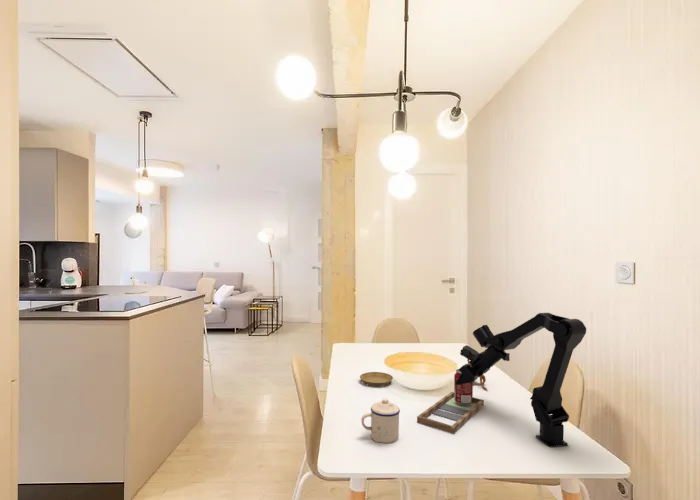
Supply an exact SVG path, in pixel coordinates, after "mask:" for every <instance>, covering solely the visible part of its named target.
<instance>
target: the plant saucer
mask: <svg viewBox="0 0 700 500" xmlns="http://www.w3.org/2000/svg"><path fill="white" fill-rule="evenodd" d="M359 379H360V380H361V381H362V382H363V384H365V385H367V386H370V387H380V388H381V387H385V386H387V385H389V384H390V383H391V382H392V380H394V377H393V375H391V374H389V373H385V372H380V371H369V372H368V371H367V372H365V373H362V374H361V375H360V376H359Z"/></svg>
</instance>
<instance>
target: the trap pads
mask: <svg viewBox="0 0 700 500" xmlns="http://www.w3.org/2000/svg"><path fill="white" fill-rule="evenodd" d="M467 412H468V410H464V409H460V408H456V407H453V406H449V405H445V404H444V405H443V406H441V407H440V408H439V409H437V410H436V411H435V412H433V413H432V414H431V415H435V416H438V417H442V418H445V419H448V420H451V421H455V422H457V421H458V420H459V419H460V418H461V417H462V416H463V415H465V414H466V413H467Z"/></svg>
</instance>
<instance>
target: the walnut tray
mask: <svg viewBox="0 0 700 500" xmlns="http://www.w3.org/2000/svg"><path fill="white" fill-rule="evenodd" d="M452 398H454V391H450V392H449V393H448V394H447V395H445V396H444V397H443V398H441V399H439V400H438V401H437V402H435V403H434V404H432V405H431V406H429V407H427V409H425V410H424V411H423V412H421V413H420V414H419V415H417V416H416V423H419V424H421V425H424V426H427V427H431V428H433V429H437V430H440V431H443V432H446V433H449V434H453V435H454V434H456V433H457V432H458V431H459V430H460V429H461V428H462V427H463V426H464V425H465V424H466V423H467V422H468V421H469V420H470V419H471V418H472V417H474V415H476V414H477V412H478V411H479V410H481V409H482V408H483V407H484V406H485V400H484V399H482V398H478V397H474V396H473V402H472V403H476V405H475V406H473V407H472V408H471V409H470V410H469V411H468V412H467V413H466V414H465V415H461V416H462V417H461V418H460V419H459V420H458V421H455V423H453V424H452V425H451V424H447V423H444V422H441V421H438V420H434V419H431V418H430V416H431V415H433V414H432V413H433V412H435V411H436V410H437V409H439V408H440V407H441V406H443V405H444V404H445V403H447V402H448V401H449V400H451V399H452ZM439 410H440V409H439Z"/></svg>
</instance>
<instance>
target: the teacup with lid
mask: <svg viewBox="0 0 700 500" xmlns="http://www.w3.org/2000/svg"><path fill="white" fill-rule="evenodd" d="M370 411H371V413H370V412H369V413H365V414H363V415H362V417H361V419H360V420H361V425H362V427H363V429H364V430H366V431H370V436H371V438H372V439H373V440H374V441H376V442H379V443H383V444H390V443H394V442H396V441H398V439H399V437H400V436H399V435H400V434H399V431H400V430H399V429H400V426H399V425H400V412H401V409H400V407H399V406H398V405H397V404H395V403H393V402H390V401H389V399H388V398H382V399H381V401H378V402H375V403H373V404H372V405H371V407H370ZM369 417H371V419H370V421H371V422H370V426H367V425H366V424H365V419H366V418H369Z"/></svg>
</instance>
